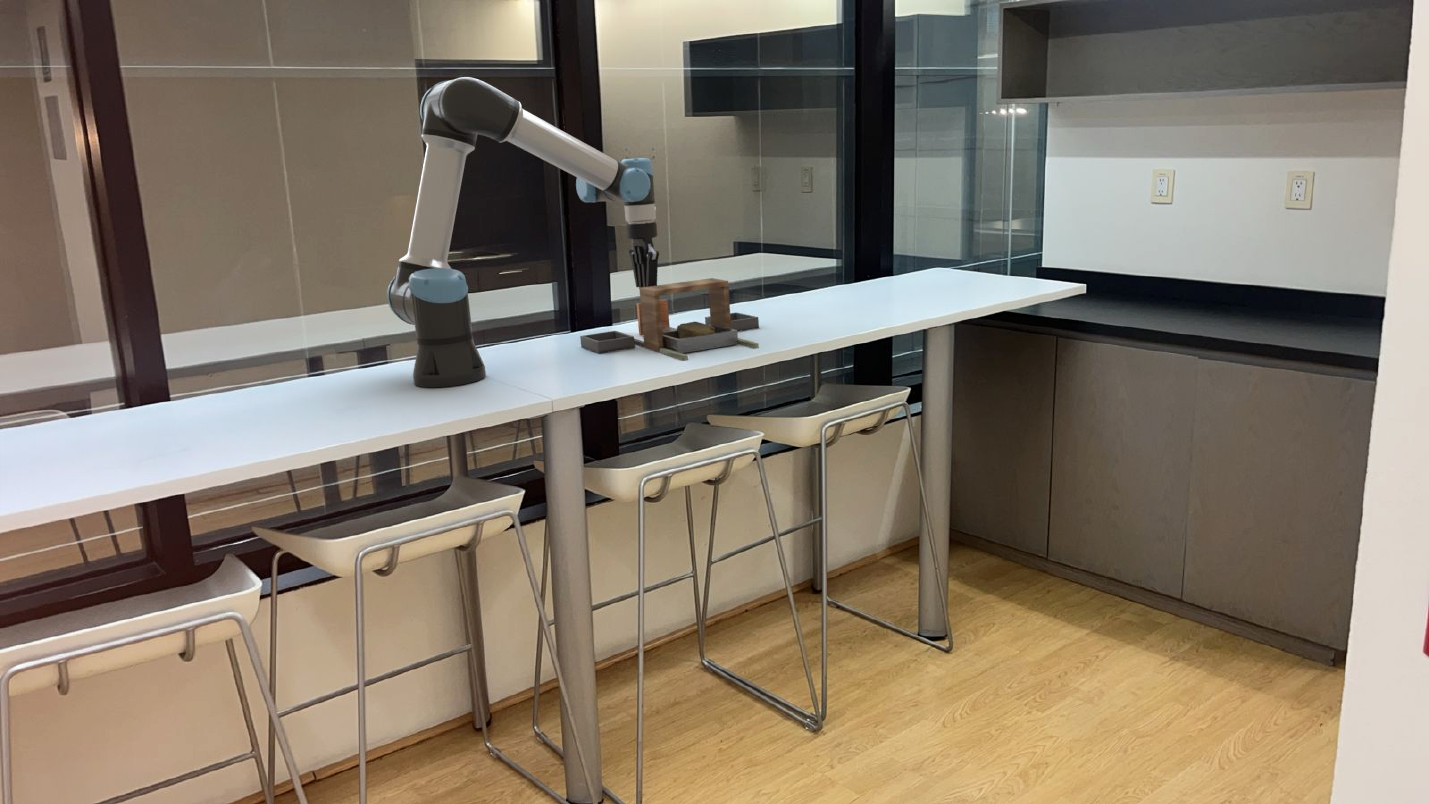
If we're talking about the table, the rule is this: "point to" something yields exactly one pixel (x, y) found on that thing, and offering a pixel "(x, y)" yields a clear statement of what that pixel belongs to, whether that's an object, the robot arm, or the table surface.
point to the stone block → (694, 329)
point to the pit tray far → (740, 321)
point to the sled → (689, 344)
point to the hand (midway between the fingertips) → (648, 316)
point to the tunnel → (651, 294)
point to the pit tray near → (607, 342)
